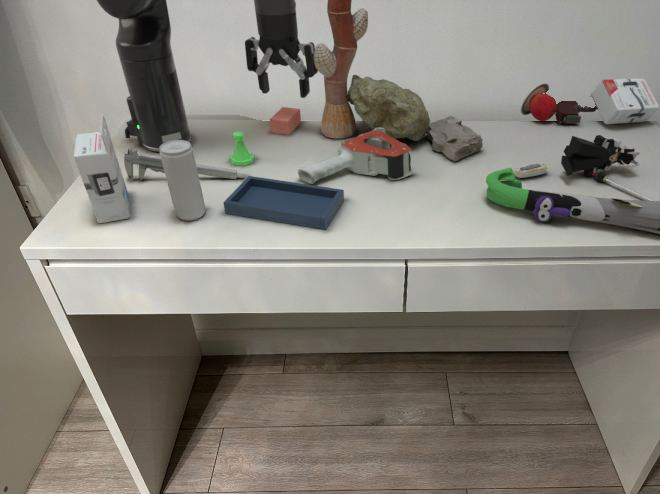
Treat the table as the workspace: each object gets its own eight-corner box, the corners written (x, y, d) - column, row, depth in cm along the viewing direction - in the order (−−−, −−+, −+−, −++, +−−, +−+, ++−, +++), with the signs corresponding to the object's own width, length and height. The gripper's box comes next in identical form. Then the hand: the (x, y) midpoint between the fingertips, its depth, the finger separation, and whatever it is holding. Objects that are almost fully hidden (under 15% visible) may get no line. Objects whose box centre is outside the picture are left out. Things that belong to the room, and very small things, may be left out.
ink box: (603, 78, 119) (645, 77, 123) (589, 94, 123) (630, 92, 127) (619, 109, 116) (661, 107, 120) (604, 125, 120) (645, 122, 124)
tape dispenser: (296, 192, 100) (405, 198, 96) (291, 166, 96) (404, 171, 93) (323, 146, 113) (420, 150, 109) (320, 122, 109) (419, 125, 106)
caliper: (129, 181, 99) (119, 148, 95) (130, 178, 100) (121, 146, 96) (244, 179, 100) (238, 147, 96) (244, 176, 101) (239, 144, 97)
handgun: (664, 129, 123) (639, 103, 134) (669, 117, 121) (643, 91, 132) (557, 126, 121) (540, 99, 133) (560, 113, 120) (543, 87, 131)
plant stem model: (317, 138, 114) (307, -26, 95) (319, 124, 119) (309, -34, 100) (368, 138, 114) (368, -26, 95) (367, 124, 120) (367, -33, 101)
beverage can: (179, 207, 93) (162, 139, 85) (208, 206, 93) (194, 139, 85) (173, 222, 89) (155, 153, 81) (203, 221, 89) (188, 152, 82)
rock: (404, 66, 121) (339, 83, 120) (423, 52, 103) (346, 71, 102) (420, 137, 126) (356, 153, 124) (441, 135, 107) (367, 154, 106)
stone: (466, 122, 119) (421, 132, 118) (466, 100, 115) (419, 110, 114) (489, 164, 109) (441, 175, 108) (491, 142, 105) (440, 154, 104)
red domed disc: (550, 91, 126) (570, 108, 123) (524, 118, 128) (543, 135, 125) (542, 76, 119) (563, 93, 116) (515, 104, 121) (535, 122, 118)
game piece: (258, 158, 107) (254, 129, 103) (244, 167, 104) (239, 137, 100) (241, 153, 108) (236, 124, 104) (226, 162, 105) (221, 132, 102)
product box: (98, 198, 94) (68, 115, 85) (129, 194, 96) (103, 111, 86) (97, 224, 88) (65, 137, 79) (130, 219, 89) (102, 132, 80)
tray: (225, 213, 91) (223, 202, 90) (250, 186, 98) (248, 175, 97) (325, 229, 88) (325, 218, 87) (344, 200, 95) (343, 189, 94)
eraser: (271, 132, 116) (269, 119, 114) (284, 120, 121) (282, 106, 120) (288, 135, 115) (287, 121, 114) (301, 122, 121) (300, 108, 119)
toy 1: (669, 243, 87) (479, 217, 92) (660, 206, 95) (486, 185, 100) (683, 210, 83) (483, 185, 88) (672, 175, 91) (490, 154, 96)
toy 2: (627, 177, 85) (704, 175, 89) (562, 129, 100) (631, 130, 104) (610, 220, 90) (684, 216, 94) (550, 168, 105) (617, 167, 109)
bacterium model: (504, 179, 98) (488, 169, 102) (503, 188, 99) (487, 178, 103) (557, 167, 102) (540, 158, 105) (556, 176, 103) (539, 167, 106)
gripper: (231, 10, 102) (245, 97, 112) (302, 15, 99) (310, 104, 109) (250, 1, 107) (261, 85, 118) (318, 6, 104) (324, 91, 115)
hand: (285, 94), depth 113 cm, fingers open, 8 cm apart
